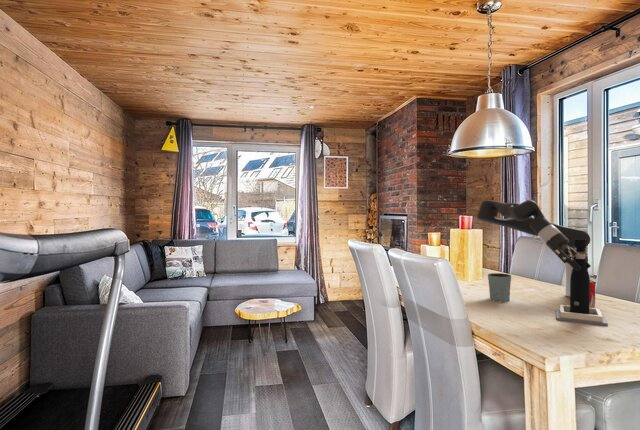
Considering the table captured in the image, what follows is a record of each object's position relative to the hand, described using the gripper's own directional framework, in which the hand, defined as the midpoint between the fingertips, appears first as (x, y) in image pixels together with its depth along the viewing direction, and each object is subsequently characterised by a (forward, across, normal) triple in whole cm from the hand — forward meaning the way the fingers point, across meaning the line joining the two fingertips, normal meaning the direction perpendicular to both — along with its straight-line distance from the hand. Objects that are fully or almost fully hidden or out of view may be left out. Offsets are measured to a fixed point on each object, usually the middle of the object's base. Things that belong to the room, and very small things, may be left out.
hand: (584, 268), depth 152 cm
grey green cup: (-12, -3, -40) cm, 42 cm away
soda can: (+9, -19, -19) cm, 29 cm away
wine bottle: (+12, 0, -14) cm, 19 cm away
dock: (+13, 0, -15) cm, 20 cm away
